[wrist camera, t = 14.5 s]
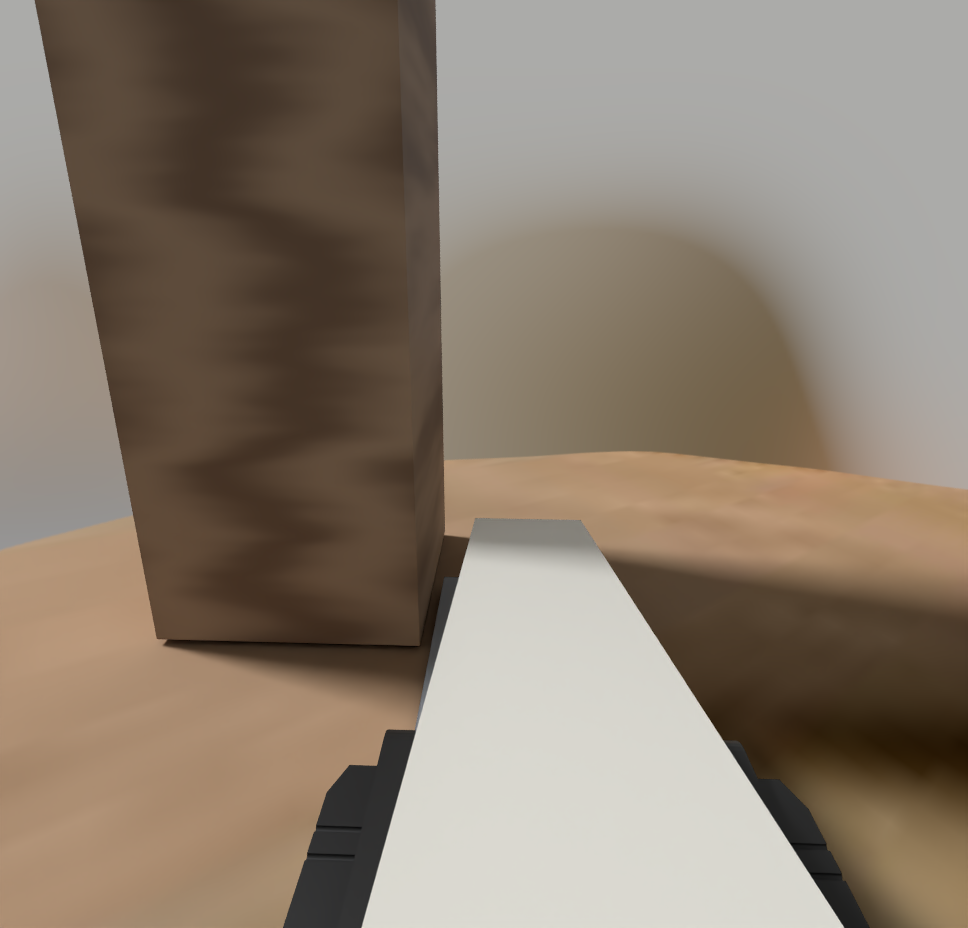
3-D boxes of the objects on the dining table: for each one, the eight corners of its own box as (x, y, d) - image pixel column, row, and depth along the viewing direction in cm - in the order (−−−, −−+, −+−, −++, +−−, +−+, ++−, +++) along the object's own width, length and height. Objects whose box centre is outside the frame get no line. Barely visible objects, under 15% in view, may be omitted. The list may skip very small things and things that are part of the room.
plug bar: (577, 622, 25) (580, 520, 25) (1035, 2019, 3) (1112, 1342, 3) (474, 620, 25) (475, 518, 25) (272, 1949, 4) (258, 1293, 3)
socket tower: (444, 530, 34) (425, -560, 21) (419, 645, 25) (356, -1200, 12) (254, 526, 34) (120, -548, 21) (156, 638, 25) (-187, -1158, 12)
